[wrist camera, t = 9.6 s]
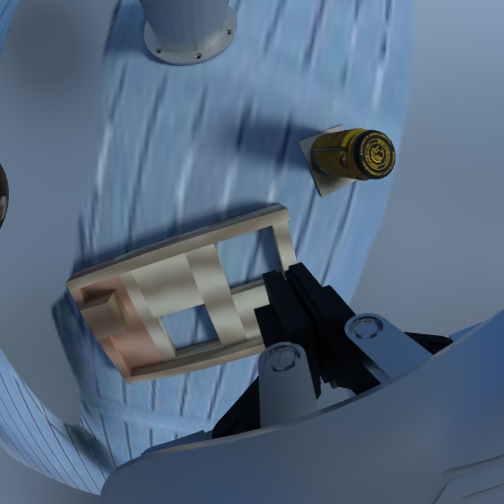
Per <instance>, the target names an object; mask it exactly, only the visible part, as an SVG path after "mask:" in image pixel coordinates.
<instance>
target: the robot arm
mask: <svg viewBox="0 0 504 504" xmlns="http://www.w3.org/2000/svg"><path fill="white" fill-rule="evenodd" d="M139 1H140V3H141V6H142V8H143V10H144V12H145V15H146V17H147V19H148V20H147V22H146V24H145V26H144V32H143V36H144V42H145V44H146V47H147V48H148V50H149V51H150V53H151V54H152V55H153V56H154V57H156V58H157V59H159V60H161V61H163V62H166V63H169V64H173V65H194V64H198V63H202V62H205V61H208V60H210V59H212V58H214V57H216V56H217V55H219V54H220V53H221V52H223V51H224V50H225V49H226V48H227V47H228V46H229V45H230V43H231V41H232V40H233V38H234V35H235V32H236V26H237V24H236V18H235V15H234V13H233V11H232V10H231V8H230V7H229V6H228V3H229V0H139ZM228 34H230V35H228ZM158 52H161V53H158ZM197 57H200V59H197ZM288 269H289V270H286V271H285V277H286V279H285V277H284V276H283V274H282V273H281V272H279V273H277V272H276V271H275V270H274V271H271V272H267V273H264V274H262V276H263V280H264V284H265V288H266V292H267V296H268V300H269V304H268V305H265V306H262V307H258V308H255V309H254V313H255V316H256V319H257V323H258V326H259V329H260V333H261V336H262V339H263V342H264V346H265V350H264V351H263V352H262V353H261V355H260V357H259V360H258V372H259V376H258V377H257V378H256V379H255V380H254V382H253V383H252V384H251V385H250V386H249V387H248V389H247V390H246V391H245V392H244V393H243V394H242V396H241V397H240V398H239V399H238V400H237V401H236V402H235V404H234V405H233V406H232V407H231V408H230V409H229V410H228V411H227V412H226V414H225V415H224V416H223V417H222V418H221V419H220V420H219V421H218V422H217V424H216V425H215V427H214V428H213V430H211V431H208V432H205V431H204V430H202V431H199V432H196V433H193V434H191V435H188V436H185V437H182V438H179V439H176V440H173V441H169V442H166V443H163V444H159V445H156V446H153V447H150V448H148V449H146V450H145V451H144V452H143V453H142V454H141V456H139V457H137V458H135V459H132V460H129V461H127V462H126V463H124V464H122V465H120V466H119V467H117V468H116V469H114V470H113V471H112V472H111V473H110V474H109V476H108V477H107V479H106V481H105V483H104V485H103V488H102V490H101V494H100V498H99V502H98V504H504V308H502V309H501V310H499V311H497V312H496V313H495V314H493V315H492V316H490V317H489V318H487V319H486V320H484V321H483V322H480V323H478V324H476V325H474V326H471V327H469V328H466V329H464V330H461V331H459V332H456V333H453V334H451V335H449V338H447V337H444V336H437V335H427V334H417V333H409V332H402V331H401V330H399V329H398V328H397V327H395V326H394V325H393V324H391V323H390V322H389V321H387V320H386V319H385V318H383V317H382V316H380V315H378V314H374V313H363V314H359V315H356V314H355V313H354V312H353V311H352V310H351V309H350V307H349V306H348V305H347V304H346V303H345V302H344V300H343V299H342V298H341V297H340V296H339V295H338V294H337V292H336V291H335V290H334V289H333V288H332V287H331V286H330V285H328V286H325V287H322V286H321V285H320V284H319V283H318V281H317V280H316V279H315V278H314V277H313V275H312V274H311V273H310V272H309V270H308V269H307V268H306V267H305V266H304V265H303V263H302V262H300V263H297V264H294V265H290V266H288ZM320 376H321V378H322V380H323V382H324V383H328V382H329V383H330V385H331V387H332V388H333V389H334V388H337V387H342V388H346V391H347V393H348V395H349V397H350V398H349V399H347V400H344V401H342V402H339V403H337V404H334V405H332V406H329V407H326V408H324V409H321V410H319V409H318V405H317V399H318V398H319V396H320V394H321V387H320V385H321V380H320Z"/></svg>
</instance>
